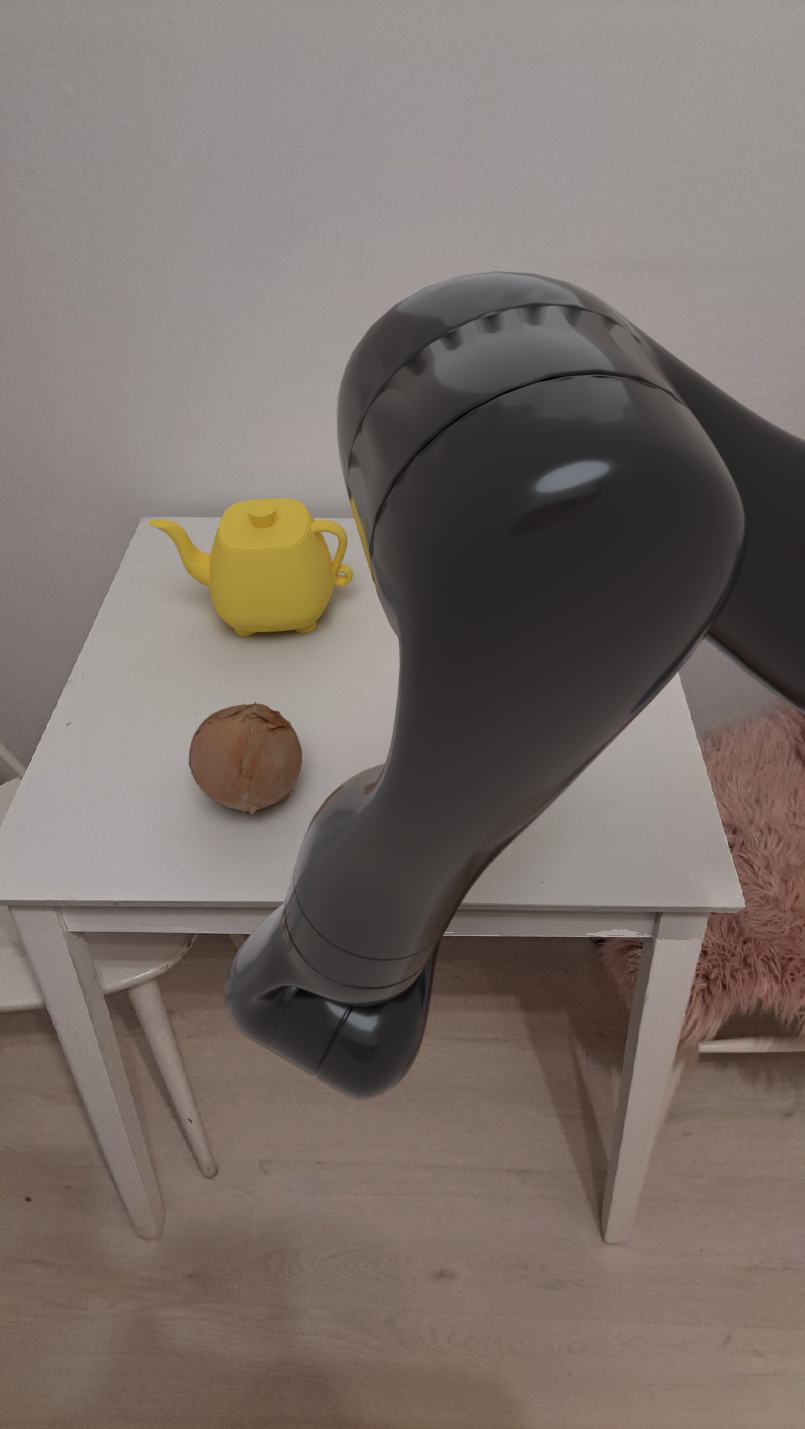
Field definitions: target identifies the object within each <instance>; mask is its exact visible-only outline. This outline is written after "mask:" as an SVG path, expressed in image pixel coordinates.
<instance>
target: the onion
mask: <svg viewBox="0 0 805 1429" xmlns="http://www.w3.org/2000/svg"><path fill="white" fill-rule="evenodd" d="M302 764H303V750H302V746H301V742H300V739H299V737H298V735H297V732H296V731H295V728H294V727H293V726H292V723H291V721H290V720H289V721H288V720H287V719H286V718H285V717H284V716H283V715H282V714H281V712H280V711H278V710H273V709H271V707H269V706H268V705H265V704H263V703H257V702H256V701H254V702H253V703H251V704H250V703H248V704H247V703H243V704H237V705H233V706H229V707H226V708H222V709H220V710H217V711H214V712H213V713H211V714H210V715H208V716H207V717H206V718H205V719H204V720H203V721H202V722H201V723H200V724H199V725H198V727H197V729H196V730H195V732H194V734H193V736H192V739H191V742H190V746H189V752H188V766H189V769H190V773H191V775H192V777H193V779H194V781H195V783H196V785H197V786H198V787H199V788H200V790H201V791H202V792H203V793H204V794H205V795H206V796H207V797H209V798H210V799H211V800H213V801H214V802H215V803H216V805H217V804H219V805H221V806H223V807H226V808H228V809H232V810H234V811H241V813H242V814H245V813H248V812H249V814H251V815H253V814H255V813H256V811H259V810H262V809H265V808H268V807H270V806H272V805H278V804H279V803H281V802H283V801H284V800H286V799H287V798H289V797H290V796H291V792H292V791H293V787H294V786H295V783H296V782H297V780H298V778H299V776H300V773H301V770H302Z"/></svg>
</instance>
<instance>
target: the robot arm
mask: <svg viewBox="0 0 805 1429" xmlns="http://www.w3.org/2000/svg"><path fill="white" fill-rule="evenodd" d="M342 374H343V375H342V378H341V381H340V385H339V389H338V394H337V400H336V401H337V402H336V437H337V447H338V456H339V462H340V467H341V472H342V477H343V481H344V485H345V488H346V492H347V497H348V501H349V504H350V508H351V513H352V516H353V519H354V522H355V526H356V529H357V533H358V535H359V536H358V537H359V540H360V542H361V546H362V549H363V553H364V556H365V559H366V562H367V565H368V568H369V572H370V575H371V579H372V582H373V584H374V586H375V591H376V595H377V597H378V599H379V602H380V605H381V607H382V610H383V612H384V615H385V617H386V620H387V622H388V624H389V626H390V628H391V629H392V631H393V632H394V634H395V636H396V638H397V639H398V640H397V641H398V651H399V652H398V656H399V658H398V660H399V670H398V680H397V681H398V683H397V694H396V695H397V697H396V705H395V713H394V722H393V728H392V734H391V740H390V746H389V750H388V753H387V757H386V759H385V763H382V764H379V765H376V766H373V767H370V768H367V769H364V770H362V771H361V772H358V773H357V774H355V775H353V776H351V777H349V778H348V779H347V780H345V781H344V782H342V783H341V784H340V785H339V786H338V787H336V789H334V790H333V791H332V792H331V793H330V794H329V795H328V796H327V797H326V799H324V801H323V802H322V804H321V805H320V807H319V808H318V810H317V811H316V812H315V814H314V815H313V817H312V819H311V821H310V823H309V824H308V827H307V829H306V831H305V834H304V836H303V839H302V841H301V844H300V847H299V850H298V853H297V857H296V860H295V865H294V867H293V871H292V873H291V874H292V875H291V877H290V881H289V885H288V888H287V892H286V895H285V898H284V900H283V903H282V904H281V905H280V906H279V907H277V908H276V909H275V910H273V911H272V912H271V913H270V914H269V915H268V916H267V917H265V919H263V921H262V922H261V923H259V924H258V925H257V926H256V927H255V929H254V930H253V931H252V932H251V934H250V935H249V936H248V937H247V938H246V940H245V941H244V942H243V943H242V945H240V948H239V949H238V950H237V952H236V953H235V955H234V958H233V959H232V962H231V963H230V964H229V967H228V970H227V973H226V976H225V979H224V986H223V1002H224V1007H225V1010H226V1012H227V1016H228V1017H229V1019H230V1021H231V1022H232V1024H233V1025H234V1027H235V1028H236V1029H237V1030H238V1031H239V1032H240V1033H241V1034H242V1035H243V1036H245V1037H246V1038H247V1039H249V1040H251V1042H254V1043H256V1044H257V1045H259V1046H261V1047H262V1048H264V1049H266V1050H267V1051H269V1052H272V1053H273V1054H274V1055H276V1056H278V1057H280V1058H281V1059H283V1060H285V1061H286V1062H288V1063H289V1064H291V1065H293V1066H295V1067H296V1068H298V1069H299V1070H301V1071H302V1072H304V1073H306V1074H308V1075H309V1076H311V1077H315V1078H316V1080H317V1081H319V1082H321V1083H323V1085H326V1086H328V1087H329V1088H331V1089H333V1090H334V1091H336V1092H338V1093H340V1094H341V1095H343V1096H346V1097H347V1098H351V1099H354V1100H362V1101H364V1100H372V1099H375V1098H378V1097H380V1096H382V1095H384V1094H386V1093H388V1092H389V1091H391V1090H392V1089H394V1088H395V1087H396V1086H397V1085H399V1083H401V1082H402V1080H403V1079H404V1078H406V1076H407V1075H408V1073H409V1072H410V1070H411V1068H412V1067H413V1065H414V1064H415V1062H416V1059H417V1058H418V1055H419V1052H420V1050H421V1047H422V1044H423V1041H424V1037H425V1034H426V1033H425V1032H426V1029H427V1024H428V1019H429V1014H430V1013H429V1012H430V1005H431V1000H432V993H433V984H434V977H435V970H436V964H437V960H438V959H437V958H438V954H439V949H440V946H441V941H442V938H443V936H444V935H445V933H446V931H447V929H448V928H449V926H450V924H451V922H452V920H453V919H454V916H455V915H456V914H457V912H458V909H459V908H460V906H461V905H462V903H463V901H464V900H465V898H466V897H467V895H468V893H469V892H470V890H471V889H472V888H473V887H474V885H475V884H476V882H477V881H478V880H479V878H481V876H482V875H483V874H484V873H485V871H486V870H487V869H488V868H489V867H490V865H492V863H493V862H494V861H495V860H496V859H497V858H498V857H499V856H500V855H501V854H502V853H503V852H504V851H505V850H506V849H507V848H508V847H509V846H510V845H511V844H512V843H513V842H514V841H516V839H517V838H518V837H520V836H521V835H522V834H523V833H524V832H525V831H526V830H527V829H528V828H529V827H530V826H531V825H532V824H533V823H535V821H536V820H538V819H539V817H541V815H543V814H544V813H545V811H547V810H548V809H549V807H550V806H551V805H553V804H554V802H555V801H557V800H558V798H560V797H561V796H562V795H563V794H564V793H565V792H566V791H567V790H568V789H569V787H570V786H571V785H572V784H574V783H575V781H576V780H577V779H578V778H579V777H580V776H581V775H582V774H583V772H584V771H586V769H587V768H589V766H591V764H593V762H594V761H595V760H596V759H597V758H598V757H599V756H600V755H601V754H602V753H603V752H604V751H605V750H606V749H607V748H608V747H609V746H610V745H611V744H612V743H613V742H614V741H615V740H616V739H617V737H619V736H620V734H622V733H623V732H624V730H626V728H627V727H629V725H630V724H632V722H633V721H634V720H635V719H636V718H637V717H638V716H639V715H640V714H641V713H642V712H643V711H644V710H645V709H646V708H647V707H648V706H649V705H650V704H651V703H652V702H653V701H654V700H655V699H656V698H657V696H658V695H659V694H660V693H661V692H662V691H663V690H664V689H665V688H666V687H667V685H668V684H669V683H670V682H671V681H672V680H673V679H674V677H675V676H676V675H677V674H678V673H679V671H680V670H681V669H682V668H683V667H684V666H685V665H686V663H687V662H688V661H689V660H690V658H691V657H692V656H693V655H694V654H695V652H696V651H697V649H698V648H699V647H700V645H701V644H702V642H703V641H706V642H707V643H708V644H710V645H711V646H712V647H713V648H715V649H716V650H717V651H718V652H720V653H721V654H722V655H723V656H724V657H725V658H726V659H728V660H729V661H730V662H732V663H733V664H734V665H735V666H737V668H739V669H740V670H741V671H743V672H744V673H745V674H746V675H748V676H749V677H750V678H752V679H753V680H754V681H756V682H757V683H758V684H759V685H761V686H762V687H764V689H766V690H768V691H769V692H770V693H772V694H773V695H774V696H776V697H777V698H779V700H781V701H782V702H784V703H785V704H787V705H788V706H790V707H791V708H793V709H794V710H796V711H797V712H798V713H800V714H801V715H802V716H804V717H805V439H804V438H802V437H799V436H797V435H795V434H793V433H790V432H788V431H786V430H785V429H783V428H781V427H780V426H778V425H776V424H774V423H772V422H771V421H769V420H767V419H766V418H764V417H763V416H761V415H759V414H758V413H756V412H755V411H753V410H752V409H751V408H749V407H747V406H745V405H744V404H743V403H741V402H740V401H738V400H737V399H736V398H734V397H732V396H731V395H730V394H729V393H727V392H725V391H724V389H722V388H720V387H719V386H718V385H716V384H714V383H713V382H712V381H710V380H709V379H708V378H706V377H704V376H703V375H702V374H700V373H699V372H698V371H696V370H695V369H694V368H692V367H691V366H690V365H688V364H687V363H685V362H684V361H683V360H681V359H680V358H678V357H677V356H676V355H674V353H672V352H670V351H669V350H668V349H666V348H665V347H664V346H663V345H661V344H660V343H659V342H657V341H656V340H655V339H654V338H652V337H651V336H650V335H649V334H648V333H646V332H644V331H643V329H641V328H640V327H638V326H637V325H636V324H634V323H633V322H632V321H631V320H630V319H628V318H627V317H625V315H623V314H622V313H621V312H619V311H618V310H617V309H615V308H614V307H613V306H611V305H610V304H609V303H607V301H605V300H604V299H602V298H601V297H599V296H597V295H595V294H593V293H592V292H590V291H589V290H587V289H585V288H582V287H580V286H578V285H575V284H573V283H571V282H569V281H566V280H561V279H559V278H558V279H557V278H554V277H550V276H547V275H542V274H538V273H534V272H520V271H519V272H518V271H502V270H496V271H487V272H478V273H472V274H471V273H470V274H464V275H457V276H455V277H453V278H449V279H446V280H443V281H440V282H436V283H434V284H431V285H427V286H425V287H423V288H421V289H419V290H417V291H416V292H414V293H412V294H411V295H409V296H407V297H405V298H404V299H401V300H400V301H398V302H397V303H395V304H394V305H393V306H391V307H390V308H389V309H388V310H387V311H386V312H385V313H383V314H382V315H381V316H380V317H379V318H378V319H376V320H375V322H373V323H372V324H371V325H370V326H369V327H368V329H367V331H366V332H365V333H364V335H363V336H362V338H360V340H359V342H358V343H357V345H356V346H355V347H354V349H353V350H352V352H351V354H350V356H349V359H348V360H347V362H346V365H345V368H344V370H343V373H342Z"/></svg>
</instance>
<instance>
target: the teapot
mask: <svg viewBox="0 0 805 1429" xmlns="http://www.w3.org/2000/svg"><path fill="white" fill-rule="evenodd" d="M147 524H148V525H150V526H151V527H153V528H156V529H158V530H160V531H162V532H164V533H165V534H166V535H167V536H168V537H169V538H170V539H171V540H172V542H173V544H174V546H175V548H176V550H177V552H178V555H179V557H180V560H181V563H182V565H183V567H184V569H185V570H186V572H187V574H189V576H191V578H192V579H193V580H195V581H196V582H198V583H199V584H200V585H203V586H205V587H208V588H209V595H210V599H211V603H212V605H213V608H214V610H215V612H216V613H217V615H218V616H219V617H220V619H221V620H222V621H223V622H224V623H225V624H227V626H229V627H231V628H233V629H234V630H233V631H234V633H235V634H236V635H238V636H241V637H248V636H249V637H250V636H252V635H254V634H256V633H269V632H270V633H271V632H282V631H283V632H284V631H292V630H293V631H296V632H297V633H299V634H300V633H301V634H307V633H310V632H312V631H314V630H315V629H316V628H317V626H318V623H317V621H318V620H319V619H320V617H321V616H322V615H323V613H324V612H325V610H326V608H327V606H328V604H329V602H330V601H331V598H332V596H333V593H334V587H335V586H336V587H346V586H347V585H349V584H351V582H352V580H353V578H354V572H353V569H352V568H351V566H349V565H347V564H342V562H343V560H344V557H345V555H346V552H347V548H348V535H347V532H346V530H345V528H344V527H343V526H342V525H341V524H339V523H338V522H335V521H334V520H331V519H325V518H324V519H323V518H322V519H316V520H315V519H314V516H312V514H311V512H310V511H309V510H308V508H307V507H306V505H305V504H304V503H303V502H301V501H299V500H298V499H295V498H286V497H285V498H283V497H282V498H280V497H278V498H277V497H276V498H256V499H246V500H241V501H237V502H235V503H233V504H230V506H229V507H228V508H226V510H225V511H224V513H223V514H222V517H221V518H220V521H219V524H218V526H217V529H216V533H215V536H214V539H213V542H212V546H211V551H210V553H207V552H205V551H203V550H201V549H199V548H198V547H197V546H195V544H194V543H193V541H192V540H191V538H190V536H189V535H188V533H187V531H186V529H184V528H183V526H182V525H180V524H178V523H177V522H175V521H172V520H168V519H159V518H158V519H151V520H149V521H148V522H147ZM323 532H324V533H330V534H333V535H335V536H336V537H337V539H338V544H337V549H336V552H335V554H334V557H333V560H332V555H331V552H330V549H329V547H328V544H327V541H326V539H325V537H324V535H323ZM339 573H344V574H342V575H340V574H339Z"/></svg>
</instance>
